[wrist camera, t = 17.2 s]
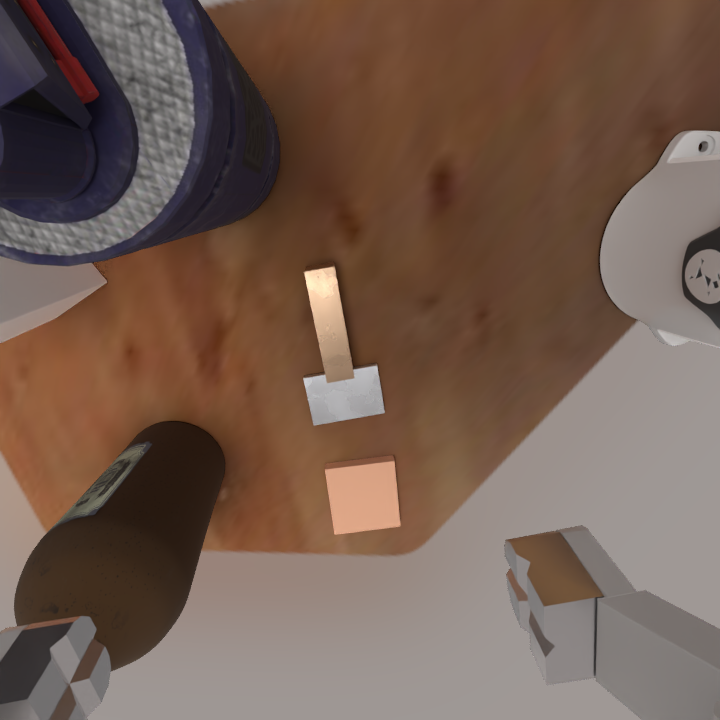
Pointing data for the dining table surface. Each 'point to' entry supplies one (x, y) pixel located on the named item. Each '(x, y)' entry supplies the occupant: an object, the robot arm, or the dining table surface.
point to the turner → (337, 358)
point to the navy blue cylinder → (123, 129)
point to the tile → (363, 494)
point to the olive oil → (129, 543)
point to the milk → (41, 293)
